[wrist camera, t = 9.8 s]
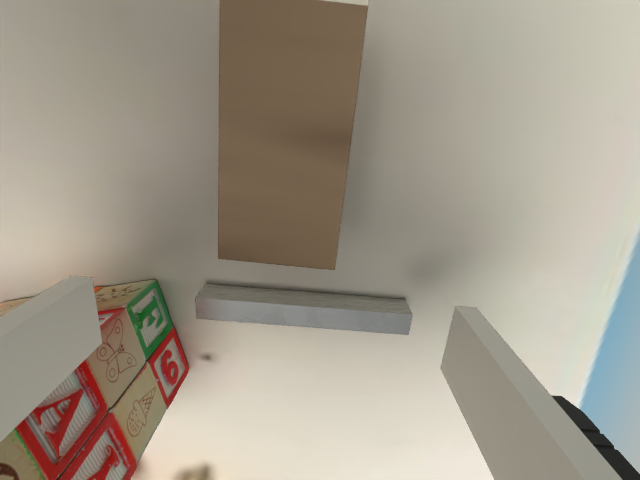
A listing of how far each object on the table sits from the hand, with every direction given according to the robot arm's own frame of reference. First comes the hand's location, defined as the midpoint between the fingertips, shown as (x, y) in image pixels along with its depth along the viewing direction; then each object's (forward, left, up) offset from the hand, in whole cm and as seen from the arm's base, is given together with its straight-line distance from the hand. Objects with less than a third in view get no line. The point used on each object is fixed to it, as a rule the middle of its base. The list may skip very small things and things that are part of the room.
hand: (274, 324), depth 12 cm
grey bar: (+2, +1, -6) cm, 6 cm away
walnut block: (-2, 0, -3) cm, 4 cm away
